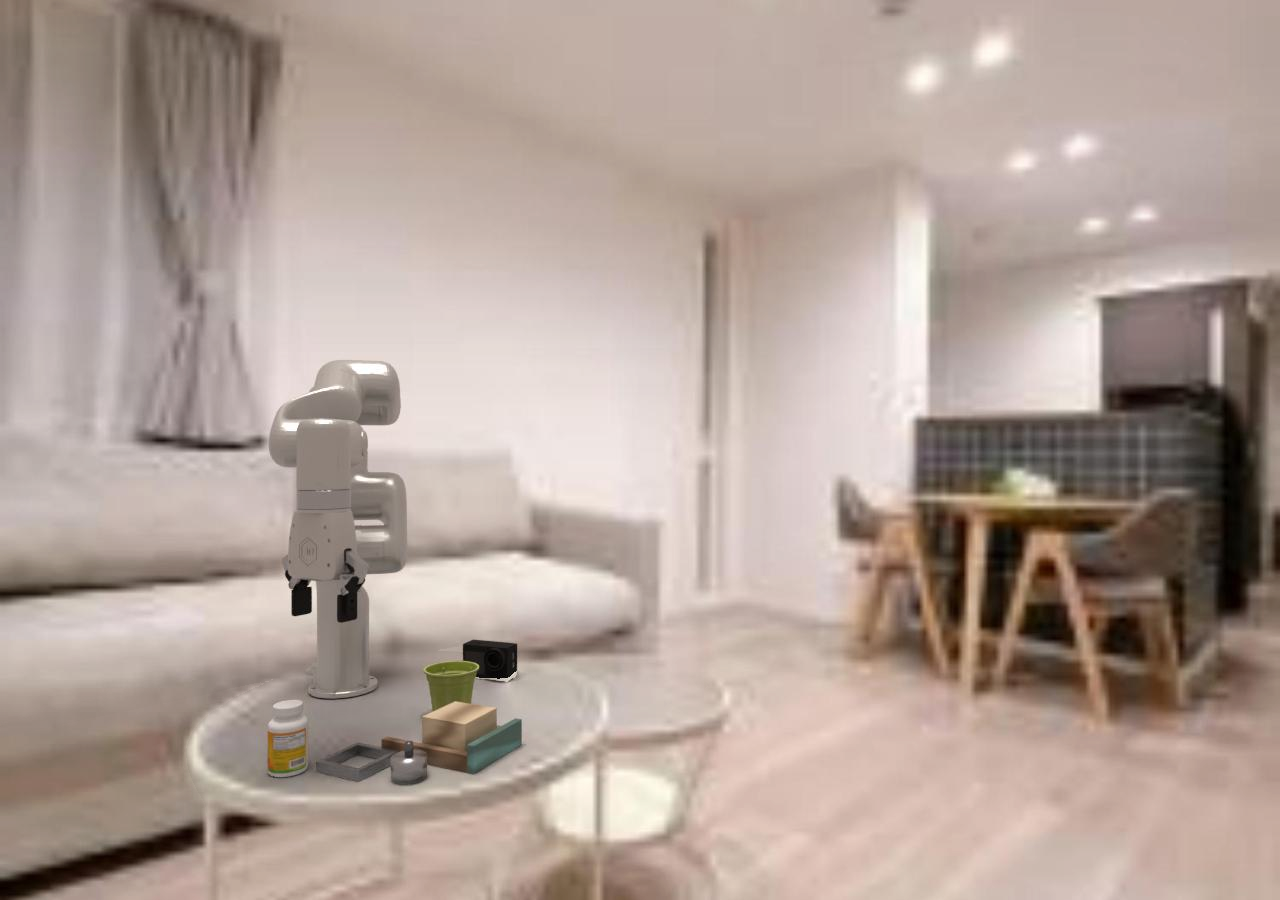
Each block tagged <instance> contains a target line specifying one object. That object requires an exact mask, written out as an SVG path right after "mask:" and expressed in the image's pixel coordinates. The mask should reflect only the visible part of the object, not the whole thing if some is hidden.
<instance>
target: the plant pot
mask: <svg viewBox="0 0 1280 900" xmlns="http://www.w3.org/2000/svg"><path fill="white" fill-rule="evenodd" d="M478 669H479V665H478V664H476V663H473V662H468V661H463V660H448V661H447V660H446V661H441V662H436V663H432V664H428V665H426V666H425V667H424V668H423V673H424V674H425V676H426V677H425V678H426V680H427V682H428V688H429V694H430V695H429V696H430V701H431V710H432V712H433V711H435V710H438V709H440V708H442V707H444V706H446V705H448V704H451V703H453V702H455V701H456V702H463V703H469V704H472V698H473V692H474V684H475V680H476V679H475V677H476V673H477V671H478Z"/></svg>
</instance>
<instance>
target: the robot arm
mask: <svg viewBox="0 0 1280 900" xmlns="http://www.w3.org/2000/svg"><path fill="white" fill-rule="evenodd" d="M316 374H317V375H316V377H315V381H314V385H313V387H311V388H310V390H309V391H308V392H307V393H304V394H302V395H300V396H297V397H295V398H293V399H290V400H288V401H286V402H285V403H284V404H282V405H281V406H280V407H279V408H278V409H277V411H276V413H275V415H274V419H273V421H272V425H271V427H270V431H269V437H268V451H269V455H270V457H271V459H272V461H273V462H274V463H275V464H276V465H278V466H280V467H283V468H295V469H296V474H295V475H296V476H295V477H296V480H295V481H296V483H295V484H296V485H295V486H296V487H295V488H296V511H293V515H292V518H291V522H290V528H289V536H288V547H287V549H288V551H287V554H286V555H284V557H282V559H281V563H282V568H283V570H284V575H285V578H286V579H287V582H288V588H289V589H290V591H291V592H290V593H291V597H290V598H291V599H290V600H291V601H290V602H291V604H290V605H291V608H290V609H291V610H290V611H291V616H292V617H300V616H305V615H309V614H311V613H312V612H313V611H312V610H313V589H312V588H313V587H312V586H309V585H310V583H311V582H312V581H314V582H315V587H316V662H311V664H310V665H309V667H307V668H306V669H305V670H304V671H305V672H304V673H305V675H306V676H313V679H312V681H313V682H311V683H310V684H309V685H308V687H307V688H308V689H307V691H309V693H308V695H310V694H311V695H310V696H312V697H315V698H318V699H333V700H334V699H345V698H353V697H357V696H361V695H364V694H369V693H371V692H372V691H374V690H375V689H376V688H378V686H379V685H378V683H379V682H378V679H377V677H375V676H373V675H370V598H369V595H368V592H367V590H366V589H365V587H364V584H365V583H366V577H367V575H380V574H381V575H385V574H395V573H398V572H401V571H402V570H403V569H404V568H405V565H406V563H407V559H408V515H407V513H408V511H407V509H408V508H407V507H408V505H407V504H408V503H407V501H408V500H407V489H406V485H405V481H404V478H402V477H401V475H400V474H398V473H395V472H389V471H388V472H387V471H386V472H385V471H383V472H382V471H379V472H378V471H376V472H374V471H371V472H370V471H369V470H368V466H369V465H368V460H369V458H368V457H369V456H368V455H369V453H368V447H369V440H368V439H369V438H368V435H367V431H366V430H364V428H363V426H389V425H393V424H395V423H396V422H397V421H398V419H399V418H400V415H401V408H402V406H401V405H402V403H401V388H400V387H401V385H400V384H401V383H400V378H399V376H398V373H397V371H396V369H395V368H394V367H393V366H392V365H391V364H390V363H388V362H387V361H383V360H359V359H358V360H356V359H354V360H353V359H338V360H331V361H328V362H327V363H325V364H323V365H322V366H321V368H320V369H319V370H318V372H317V373H316ZM369 520H370V521H371V520H373V521H380V522H382V523H383V524H382V525H381V524H379V525H378V524H377V525H375V524H374V525H373V524H372V525H361V524H360V525H355V521H369Z"/></svg>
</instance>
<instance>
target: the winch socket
mask: <svg viewBox="0 0 1280 900" xmlns="http://www.w3.org/2000/svg"><path fill="white" fill-rule="evenodd" d="M413 742H414V740H408V741H406V742H405V751H401V752H399V751H398V750H393V749H388V748H383V747H381V746H377V745H373V744H367V743H364V742H363V743H362V742H358V741H357V742H355V743H353V744H351V745H349V746H347V747H345V748H342V749H340V750H337V751H335V752H334V753H331V754H330V755H326V756H324V757H323V758H320V759H318V760H316V761H315V772H316V773H319V774H324V775H328V776H333V777H336V778H341V779H345V780H351V781H354V782H358V783H359V782H361V781H363V780H365V779H367V778H368V777H369V778H370V777H371V776H373V775H375V774H376V773H378V772H381V771H382V770H384V769H386V768H389V767H390V782H391V783H392V784H394V785H400V786H409V785H414V784H415V785H416V784H419V783H421V782H423V781H424V780H426V779H427V777H428V764H427V753H426V752H425V751H422V750H413ZM356 756H363V757H367V758H372V759H374V760H372V761H370V762H368V763H366V764H364V765H362V766H360V767H356V766H351V765H347V764H343V762H345V761H347V760H349V759H352V758H354V757H356ZM408 784H409V785H408Z"/></svg>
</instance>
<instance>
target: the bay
mask: <svg viewBox="0 0 1280 900" xmlns="http://www.w3.org/2000/svg"><path fill="white" fill-rule="evenodd" d="M497 711H498V709H497V707H493V706H487V705H480V704H476V703H471V704H469V703H463V702H456V701H455V702H453V703H451V704H448V705H446V706H444V707H442V708H440V709H438V710H435V711H433V710H432V711H431V712H428V713H427V714H424V715H423V716H421V719H422V720H421V722H422V723H421V725H422V727H421V737H422V739H421V742H417V741H413V750H422V751H425V752H426V753H427V766H428V765H429V766H434V767H439V768H443V769H449V770H452V771H458V772H463V773H468V774H472V775H475V774H476V773H479V772H481V770H483V769H485V768H486V767H488V766H489V765H491V764H493V763H494V762H496V761H497V760H500V759H501V758H503V757H504V756H506V755H507V754H509V753H511V752H513V751H514V750H515V749H517V748H518V747H520V746H522V744H523V737H522V735H523V734H522V733H523V732H522V730H523V728H522V727H523V726H522V724H523V723H522V722H523V721H522V719H521V718H516V717H515V718H514V719H512V720H510V721H508V722H506V723H504V724H502V725H498V724H497V722H498V721H497V719H498V718H497ZM406 741H409V740H406V739H401V738H397V737H393V736H385V737H383V738H381V742H380V743H381V746H380V747H383V748H388V749H393V750H398V751H399V752H401V751H405V742H406Z"/></svg>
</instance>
